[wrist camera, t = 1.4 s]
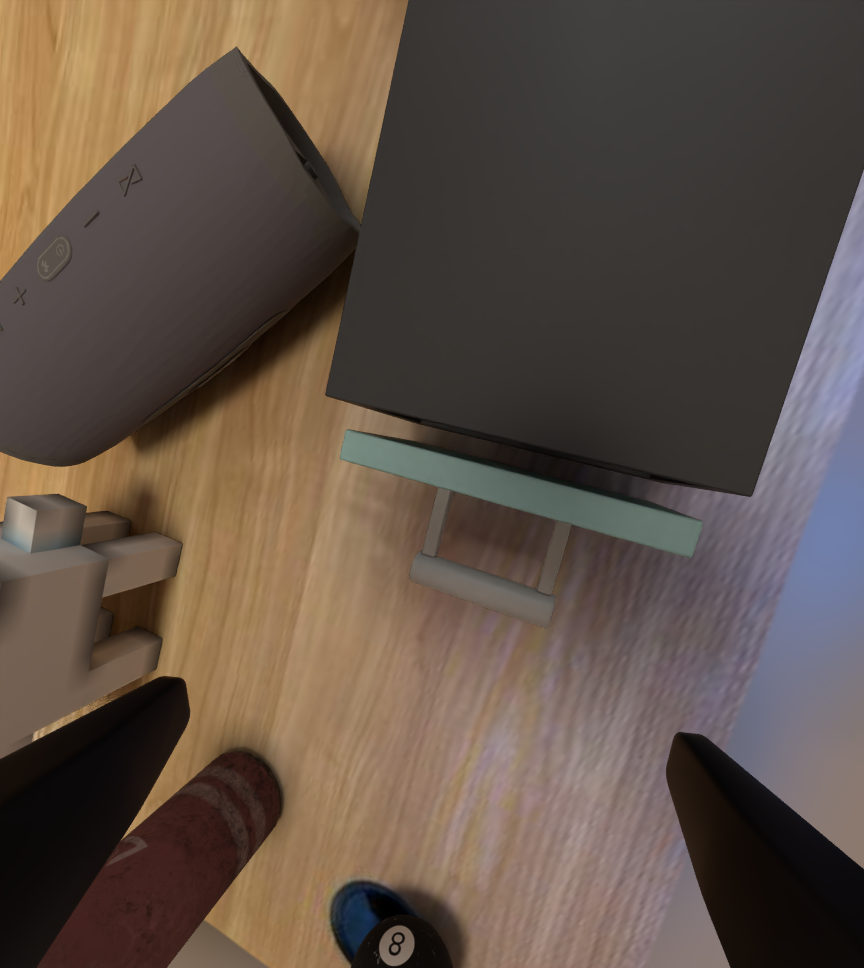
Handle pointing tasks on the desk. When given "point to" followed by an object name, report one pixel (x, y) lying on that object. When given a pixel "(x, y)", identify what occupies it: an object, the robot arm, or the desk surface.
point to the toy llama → (68, 609)
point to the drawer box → (605, 225)
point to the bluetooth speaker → (165, 267)
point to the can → (171, 870)
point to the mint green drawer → (521, 493)
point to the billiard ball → (402, 945)
